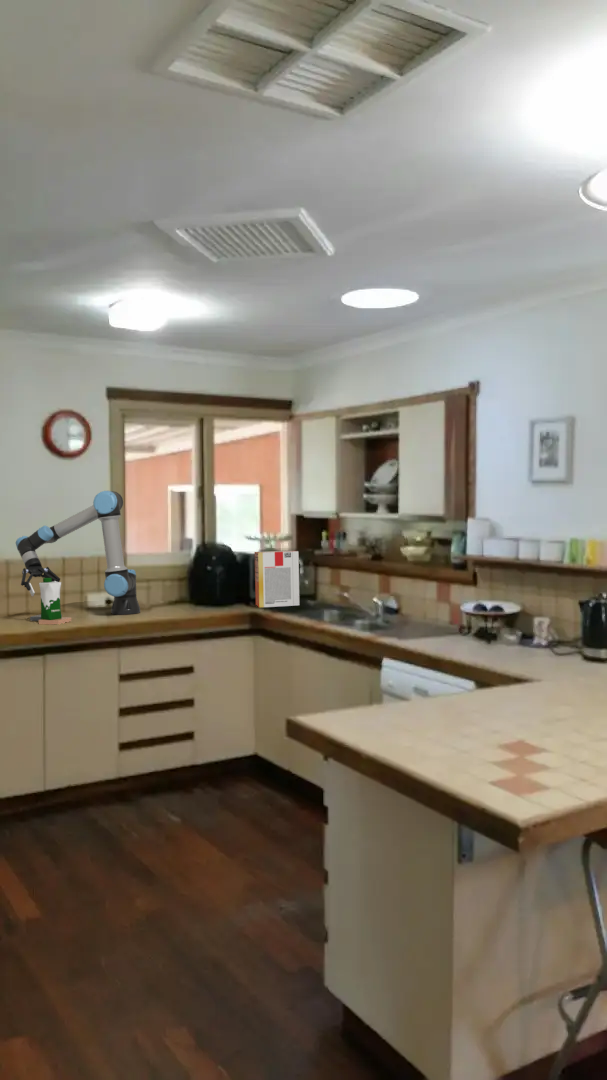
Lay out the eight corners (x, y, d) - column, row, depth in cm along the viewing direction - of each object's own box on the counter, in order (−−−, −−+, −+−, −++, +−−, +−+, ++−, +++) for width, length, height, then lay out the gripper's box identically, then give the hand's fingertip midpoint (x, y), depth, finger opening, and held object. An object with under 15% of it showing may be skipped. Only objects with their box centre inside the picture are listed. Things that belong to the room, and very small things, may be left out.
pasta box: (295, 603, 479) (294, 550, 478) (299, 605, 472) (298, 551, 470) (255, 605, 473) (254, 551, 471) (259, 607, 465) (258, 552, 464)
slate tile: (61, 618, 434) (61, 614, 434) (48, 621, 424) (48, 617, 424) (43, 617, 438) (43, 613, 438) (30, 620, 428) (30, 616, 428)
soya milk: (52, 617, 424) (51, 577, 423) (64, 618, 418) (63, 577, 418) (38, 619, 417) (36, 578, 416) (49, 620, 411) (48, 579, 410)
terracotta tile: (71, 621, 422) (71, 617, 422) (58, 624, 411) (58, 620, 411) (52, 620, 425) (52, 616, 425) (38, 624, 415) (38, 619, 415)
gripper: (52, 565, 445) (66, 596, 434) (6, 568, 428) (20, 600, 417) (56, 555, 441) (71, 586, 430) (10, 558, 424) (24, 590, 413)
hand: (46, 593), depth 424 cm, fingers open, 13 cm apart
